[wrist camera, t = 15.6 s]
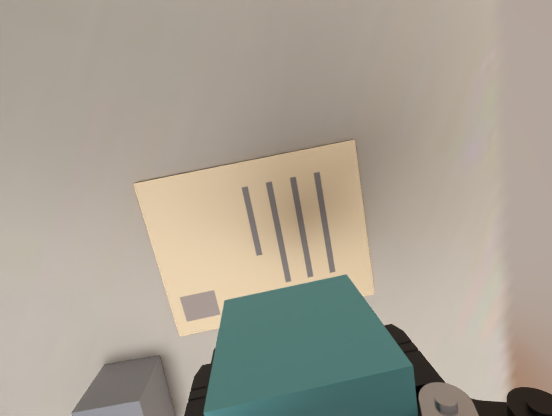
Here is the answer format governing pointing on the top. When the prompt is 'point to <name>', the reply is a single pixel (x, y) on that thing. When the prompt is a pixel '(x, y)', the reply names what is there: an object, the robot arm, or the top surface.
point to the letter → (256, 229)
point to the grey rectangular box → (128, 390)
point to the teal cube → (308, 356)
